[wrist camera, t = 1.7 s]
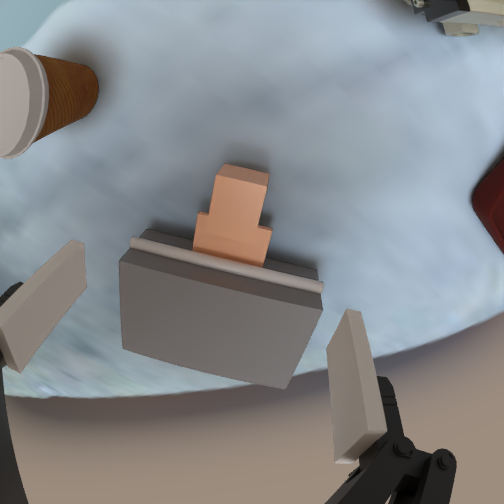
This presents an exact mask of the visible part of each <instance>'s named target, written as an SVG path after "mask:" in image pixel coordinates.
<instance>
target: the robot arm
mask: <svg viewBox="0 0 504 504" xmlns="http://www.w3.org/2000/svg"><path fill="white" fill-rule="evenodd" d="M86 288H87V281H86V269H85V254H84V243H82V242H79V241H75V240H71V241H70V242H69V243H67V244H66V245H65V246H64V247H63V248H62V249H60V250H59V251H58V252H57V253H56V254H55V255H54V256H53V257H52V258H50V259H49V260H48V261H47V262H46V263H45V264H44V265H43V266H42V267H41V268H40V269H38V270H37V271H36V272H35V273H34V274H33V275H32V276H31V277H30V278H29V279H28V280H27V281H26V282H25V283H22V282H18V283H17V284H15V285H13V286H11V287H10V288H9V289H8V290H7V291H6V292H5V293H4V295H2V296H1V297H0V504H28V501H27V498H26V494H25V491H24V488H23V484H22V481H21V477H20V474H19V470H18V466H17V462H16V458H15V453H14V449H13V445H12V440H11V435H10V429H9V423H8V417H7V411H6V403H5V395H4V386H3V375H2V368H3V367H4V366H6V365H7V366H8V367H9V368H11V369H13V370H15V371H17V372H18V373H21V372H22V370H23V369H24V368H25V366H26V365H27V363H28V362H29V361H30V359H31V358H32V356H33V355H34V354H35V352H36V351H37V350H38V348H39V347H40V346H41V344H42V343H43V342H44V340H45V339H46V338H47V336H48V335H49V334H50V332H51V331H52V330H53V329H54V327H55V326H56V325H57V323H58V322H59V321H60V320H61V318H62V317H63V316H64V315H65V313H66V312H67V311H68V310H69V308H70V307H71V306H72V305H73V304H74V302H75V301H76V300H77V299H78V297H79V296H80V295H81V294H82V293H83V291H84V290H85V289H86ZM326 351H327V361H328V372H329V383H330V396H331V410H332V424H333V442H334V462H335V463H347V464H352V463H353V462H354V461H356V460H357V459H358V458H359V463H360V466H359V467H357V468H356V469H355V470H354V471H353V472H351V473H350V474H349V475H348V476H350V477H349V478H348V479H347V480H346V481H345V482H344V483H343V484H342V486H341V487H340V488H339V489H338V490H337V491H336V492H335V493H334V494H333V495H332V496H331V498H330V499H329V500H328V501H327V502H326V503H325V504H385V502H386V501H387V499H388V498H389V497H390V495H391V494H392V495H391V498H390V500H389V503H388V504H449V502H450V497H451V493H452V488H453V483H454V478H455V473H456V467H457V466H456V459H455V456H454V455H453V454H452V453H451V452H450V451H448V450H447V449H438V450H436V451H435V452H434V453H433V454H430V453H427V452H424V451H421V450H418V449H416V448H415V446H414V444H413V442H412V441H411V440H410V439H409V438H407V437H405V436H404V433H403V428H402V424H401V419H400V415H399V410H398V407H397V401H396V399H395V393H394V389H393V386H392V384H391V383H390V381H389V380H388V378H387V377H381V376H376V372H375V367H374V363H373V359H372V354H371V350H370V346H369V342H368V338H367V334H366V330H365V326H364V322H363V318H362V314H361V312H359V311H355V310H350V309H346V311H345V313H344V315H343V317H342V319H341V321H340V323H339V325H338V327H337V329H336V331H335V333H334V335H333V337H332V339H331V341H330V343H329V344H328V346H327V348H326Z"/></svg>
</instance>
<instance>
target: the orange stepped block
mask: <svg viewBox="0 0 504 504" xmlns="http://www.w3.org/2000/svg"><path fill="white" fill-rule="evenodd" d="M269 175H270V174H268V173H264V172H260V171H256V170H252V169H247V168H243V167H238V166H234V165H230V164H224V165H223V167H222V168H221V169H220V170H219V172H218V173H217V174H216V177H215V183H214V188H213V193H212V199H211V204H210V210H209V213H205V212H201V211H199V213H198V216H197V222H196V229H195V235H194V242H193V248H192V251H195V252H199V253H203V254H207V255H212V256H216V257H220V258H224V259H228V260H232V261H236V262H241V263H245V264H249V265H253V266H257V267H261V268H262V267H263V263H264V260H265V256H266V252H267V249H268V245H269V242H270V238H271V234H272V230H273V228H268V227H264V226H260V225H258V222H259V218H260V214H261V210H262V206H263V202H264V198H265V195H266V191H267V186H268V181H269Z"/></svg>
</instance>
